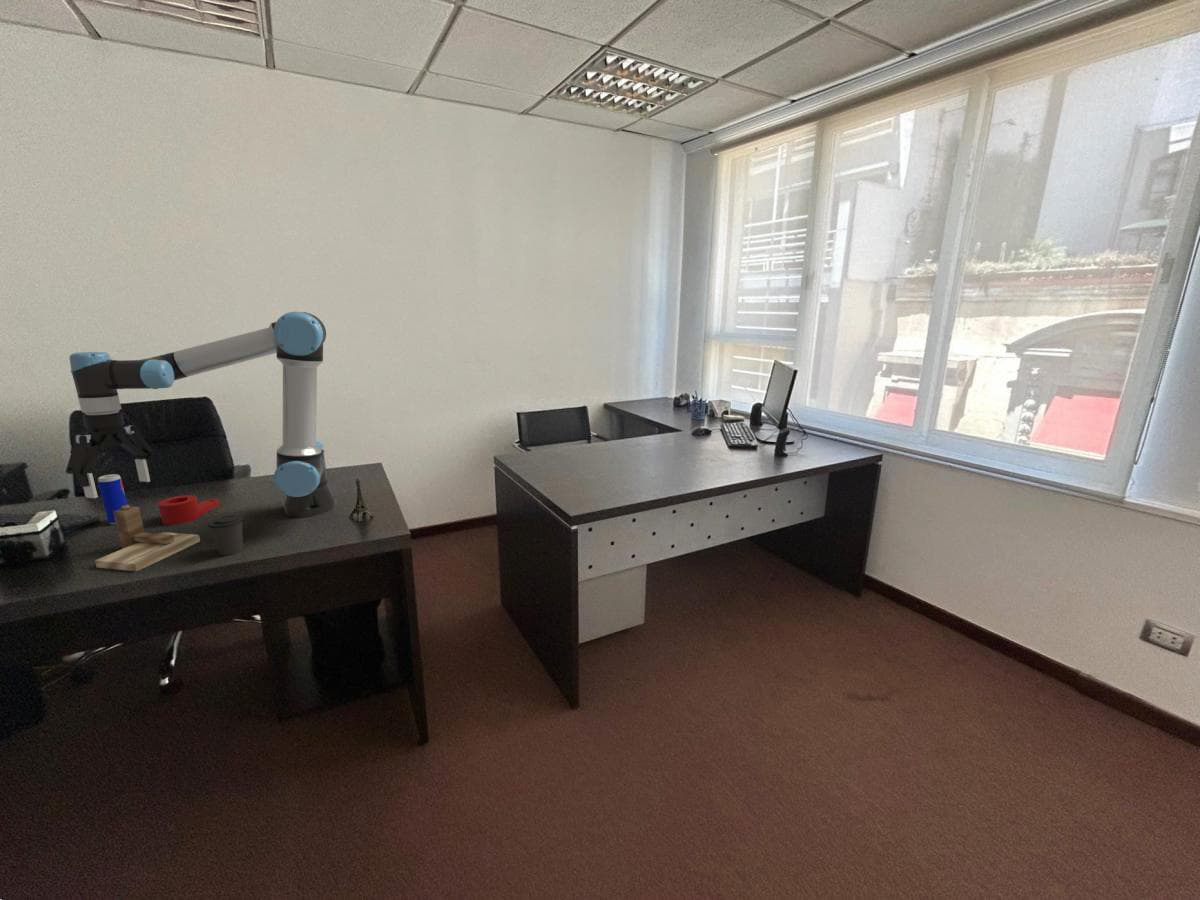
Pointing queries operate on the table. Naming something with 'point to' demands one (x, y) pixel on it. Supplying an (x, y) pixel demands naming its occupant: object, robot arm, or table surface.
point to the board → (146, 553)
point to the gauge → (135, 528)
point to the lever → (184, 509)
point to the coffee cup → (227, 534)
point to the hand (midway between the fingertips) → (119, 489)
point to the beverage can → (112, 494)
